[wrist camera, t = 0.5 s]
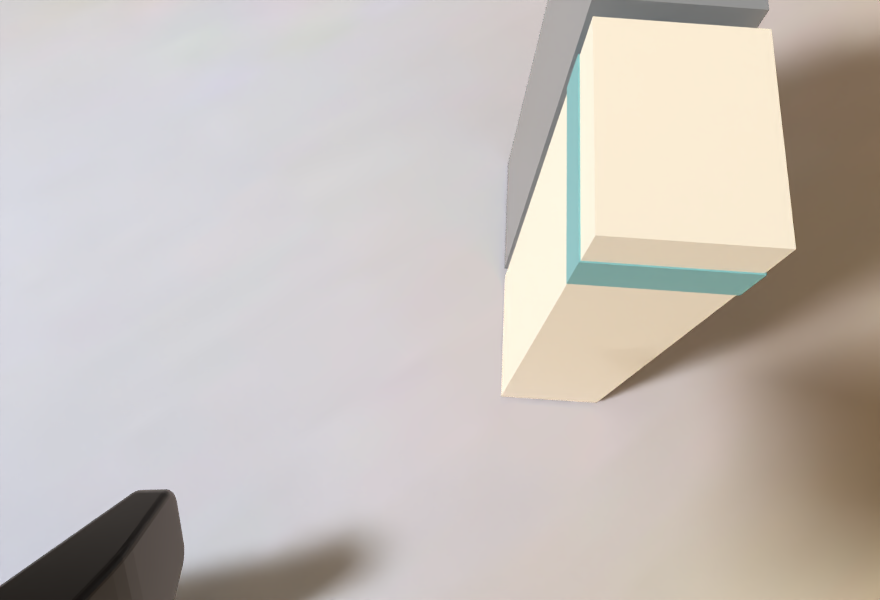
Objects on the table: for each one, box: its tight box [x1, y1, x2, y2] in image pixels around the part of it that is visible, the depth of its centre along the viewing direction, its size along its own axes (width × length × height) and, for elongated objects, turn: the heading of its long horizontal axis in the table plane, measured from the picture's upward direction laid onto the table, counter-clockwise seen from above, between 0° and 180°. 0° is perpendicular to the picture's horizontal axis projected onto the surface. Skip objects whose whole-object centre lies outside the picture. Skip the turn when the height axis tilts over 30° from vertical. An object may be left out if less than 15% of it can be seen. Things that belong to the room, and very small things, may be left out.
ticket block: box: [505, 0, 769, 268], centre depth 18 cm, size 4×3×12 cm
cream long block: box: [501, 16, 796, 403], centre depth 17 cm, size 4×3×12 cm
